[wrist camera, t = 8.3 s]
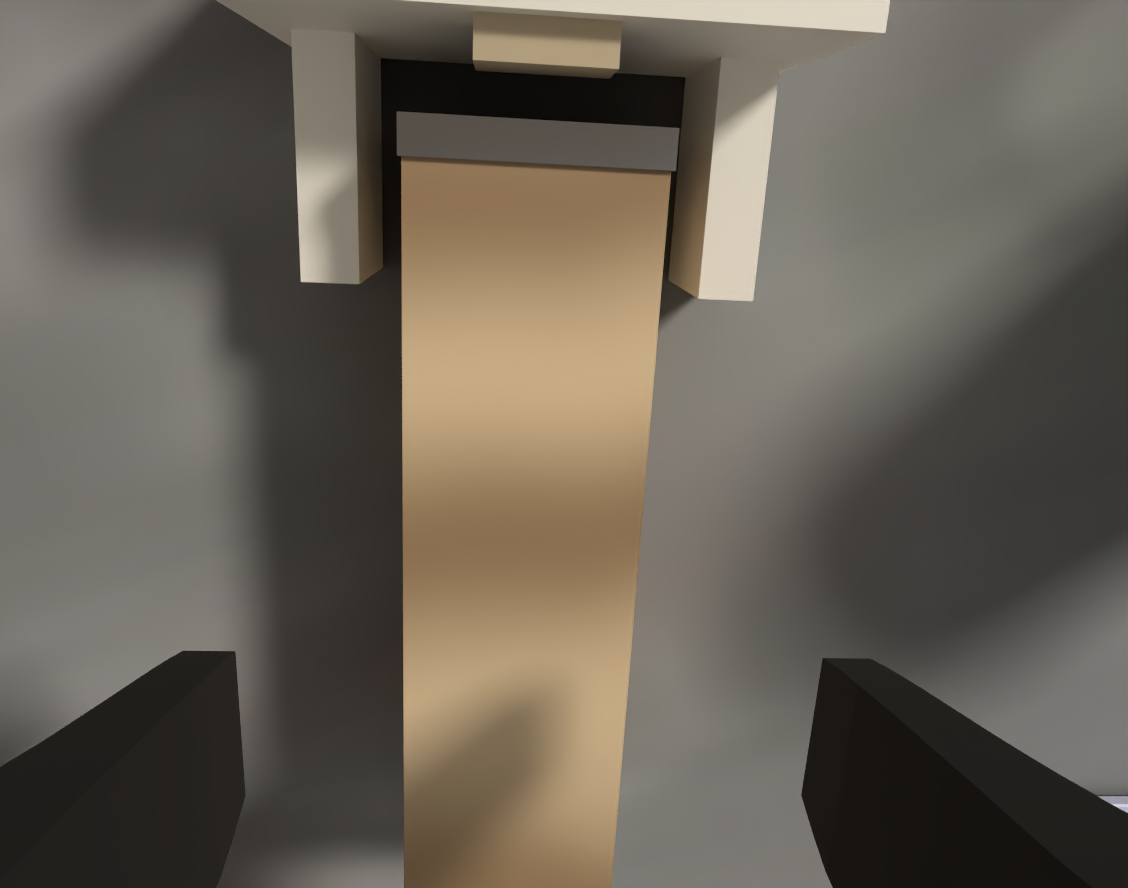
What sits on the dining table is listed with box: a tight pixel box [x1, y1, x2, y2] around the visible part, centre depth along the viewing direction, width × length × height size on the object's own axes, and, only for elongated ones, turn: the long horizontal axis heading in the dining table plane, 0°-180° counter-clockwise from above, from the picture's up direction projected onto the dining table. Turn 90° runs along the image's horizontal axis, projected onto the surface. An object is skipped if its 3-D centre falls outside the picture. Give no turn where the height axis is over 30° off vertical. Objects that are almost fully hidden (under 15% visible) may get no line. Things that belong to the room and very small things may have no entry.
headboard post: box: [216, 0, 890, 301], centre depth 14 cm, size 6×9×6 cm
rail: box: [397, 111, 680, 888], centre depth 17 cm, size 14×4×5 cm, turn 177°
